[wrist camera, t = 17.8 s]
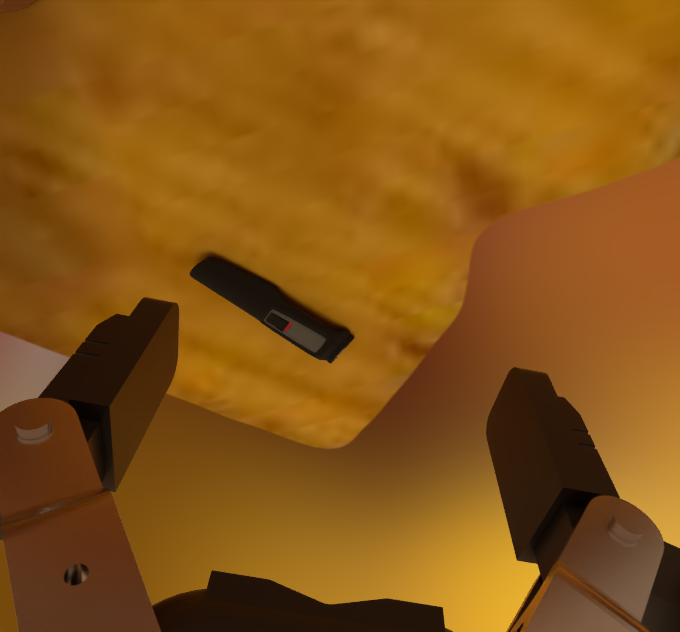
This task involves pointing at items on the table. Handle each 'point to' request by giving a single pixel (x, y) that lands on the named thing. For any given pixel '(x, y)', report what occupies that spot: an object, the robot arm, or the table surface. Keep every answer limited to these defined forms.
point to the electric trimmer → (271, 309)
